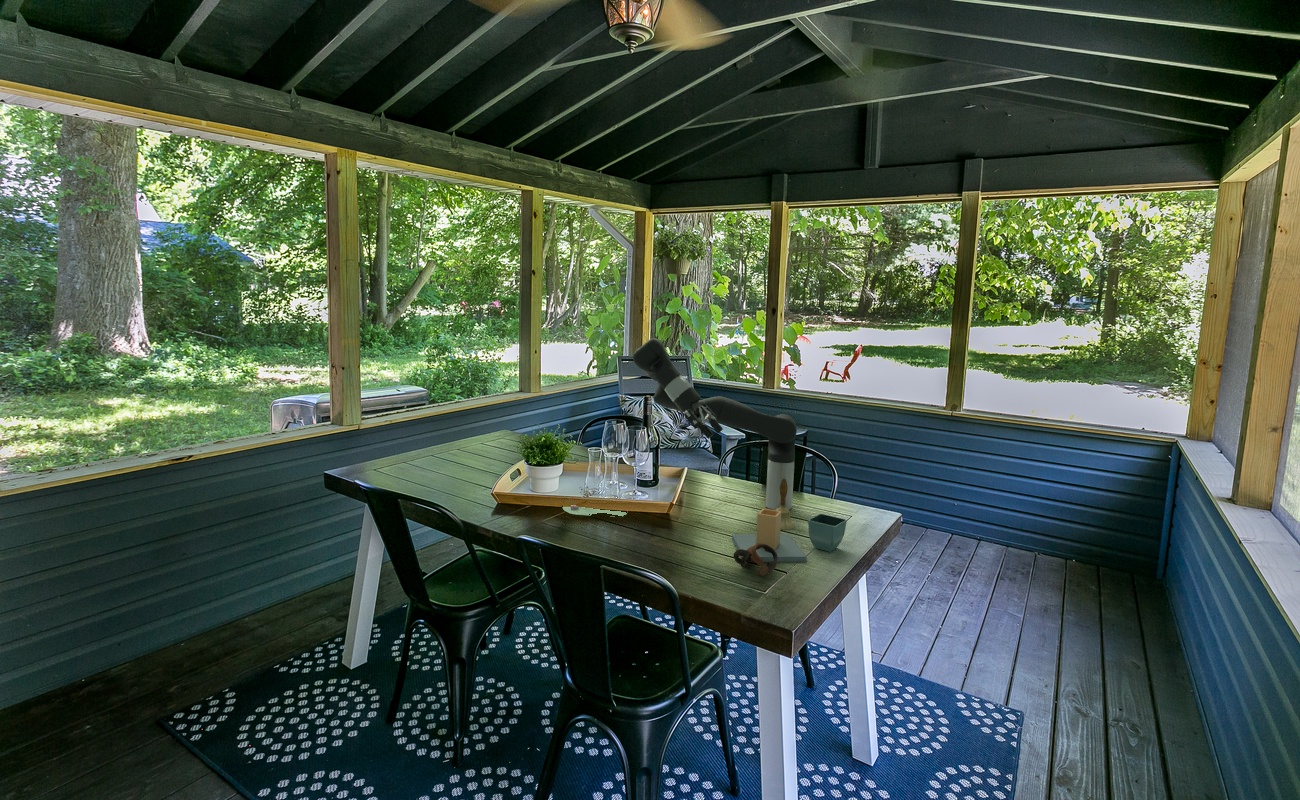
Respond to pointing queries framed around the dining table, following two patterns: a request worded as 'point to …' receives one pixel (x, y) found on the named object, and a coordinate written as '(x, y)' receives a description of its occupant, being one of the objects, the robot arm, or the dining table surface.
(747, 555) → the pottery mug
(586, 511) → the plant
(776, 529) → the collar
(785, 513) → the hand bell
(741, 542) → the post board
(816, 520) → the flower pot
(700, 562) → the dining table surface
